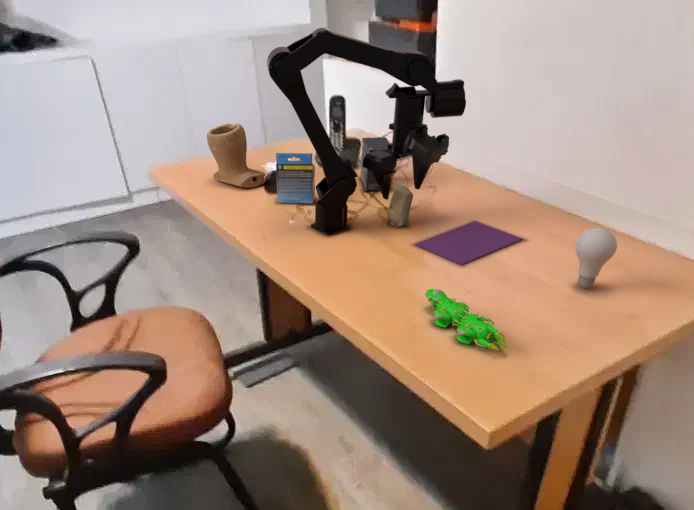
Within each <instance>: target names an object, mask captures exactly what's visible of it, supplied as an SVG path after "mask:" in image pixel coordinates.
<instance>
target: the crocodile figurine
mask: <svg viewBox="0 0 694 510" xmlns="http://www.w3.org/2000/svg"><path fill="white" fill-rule="evenodd" d="M424 295H425V297H426V298H427V301H428V302H429V305H430V306H429V307H430V308H431V309H434V311H433V312H432V316H433V317H434V318H435V320H434V322H433V323H434V324H435V326H437V327H440V328H447V327H448V326H449V325H450V324H451V323H452V325H451V326H452V327H454V326H457V327H456V333H457V334H458V335H457V337H456V340H457V342H459V343H461V344H464V345H471V343H472V342H474V343H475V345H477V346H480V347H483V348H488V349H489V350H491V351H500V349H499V347H498V346H497V345H495V343H497V344H498V345H499V346H500V347H503V348H509V345H508V343H507V342H506V337H505V336H504V334H503V333H502V331H499V330H498V328H497V327H496V326H495V322H494V320H492V319H490V318H488V317H484V316H483V315H479V313H478V312H476V313H473V312H472V311H471V310H470V306H469V305H468V304H467V303H465V302H462V301H461V302H457V299H456V298H455V297H449V296H448V295H447V294H446V292H445V291H443V290H441V289H439V288H429V289H427V290H426V291H425V292H424ZM435 308H436V309H435ZM492 341H493V342H492ZM494 342H495V343H494Z"/></svg>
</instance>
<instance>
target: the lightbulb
mask: <svg viewBox="0 0 694 510" xmlns="http://www.w3.org/2000/svg"><path fill="white" fill-rule="evenodd" d="M617 241H618V240H617V238H616V236H615V235H614V233H612V232H611V231H610V230H608V229H606V228H602V227H594V228H593V227H592V228H590V229H587V230H585V231H583V232H582V233H580V235H579V236H578V237H577V239H576V241H575V246H574V247H575V249H574V250H575V253H576V257H577V259H578V278H577V284H578V286H579V287H580V288H582V289H589V288H592V287H593V286H594V285H595V282H596V280H597V277H598V276H599V275H600V272H601V270H602V268H603V267H604V266H605V265H606V263H607V262H608V261H609V260H611V258H612V257H614V255H615V254H616V251H617V248H618V243H617Z"/></svg>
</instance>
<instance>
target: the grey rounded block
mask: <svg viewBox="0 0 694 510" xmlns="http://www.w3.org/2000/svg"><path fill="white" fill-rule="evenodd" d="M413 198H414V194H413V192H412V191H411V190H410V189H409V188H408V187H407V186H406V185H405V184H404V183H403V184H402V183H401V184H398V185H396V187H395V188H394V191H393V193H392V196H391V199H390V200H389V204H388V205H389V206H388V209H387V218H388V219H389V224H390V225H391V226H394V227H396V228H406V227H407V224H408V221H409V218H410V212H411V207H412V202H413Z"/></svg>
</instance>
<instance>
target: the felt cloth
mask: <svg viewBox="0 0 694 510" xmlns="http://www.w3.org/2000/svg"><path fill="white" fill-rule="evenodd" d="M523 240H524V238H522V237H520V236H517V235H515V234H511V233H508V232H506V231H504V230H501V229H498V228H495V227H493V226H489V225H487V224H484V223H482V222H479V221H476V220H474V221H472V222H469V223H466V224H463V225H461V226H458V227H455V228H453V229H450V230H448V231H446V232H443V233H440V234H438V235H434V236H432V237H430V238H427V239H424V240H422V241H419V242H416V243H415V244H414V245H415V246H416V247H419V248H421V249H423V250H426V251H428V252H430V253H431V254H432V253H433V254H434V255H437V256H438V257H440V258H441V257H442V258H443V259H446V260H448V261H450V262H453V263H455V264H457V265H460V266H463V265H466V264H468V263H470V262H473V261H475V260H478V259H480V258H483V257H485V256H488V255H490V254H492V253H495V252H497V251H500V250H502V249H505V248H507V247H510V246H512V245H514V244H516V243H519V242H521V241H523Z"/></svg>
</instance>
